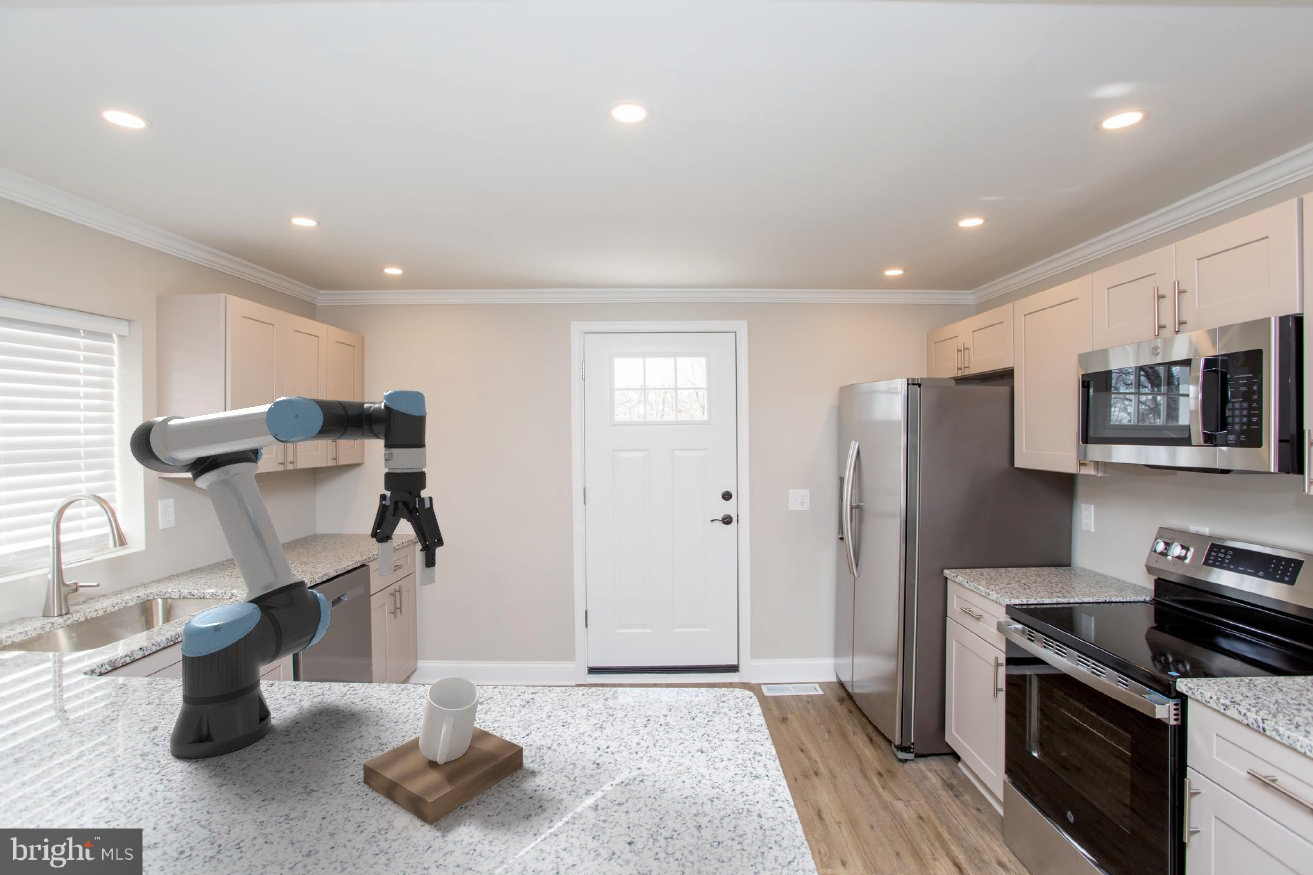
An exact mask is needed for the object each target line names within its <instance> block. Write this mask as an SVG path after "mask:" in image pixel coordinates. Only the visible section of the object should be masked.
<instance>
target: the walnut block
mask: <svg viewBox="0 0 1313 875" xmlns="http://www.w3.org/2000/svg"><path fill="white" fill-rule="evenodd" d="M419 738H420V735H419V736H417V737H415V738H413V739H411V740H409V741H407V742H405V743H402V744H400V745H399V746H396V747H395V748H392V749H389V750H388V751H387V752H383V753H381V754H380V755H378V756H375V757H373V758H372V759H369V760H367V761H365V762H363V765H362V767H363V770H362V771H363V772H362V774H363V778H362V780H363V784H365V785H366V786H368V787H369V788H371V789H372V790H375V791H376V792H377V793H378V794H380V795H382V796H384V797H385V798H386V799H389V800H390V801H391V802H393V803H395V804H397V805H398V806H399V807H401V808H403V809H405V811H407V812H409V813H410V814H412V815H413V816H415V817H417V818H418V819H419V820H421V821H423V822H424V823H426V822H427V823H426V824H428V825H429V824H430V826H431V825H433V824H435V823H436V822H437V821H439V820H441V819H442V818H444V817H446V816H447V815H449V814H450V813H452V812H453V811H455V810H457V809H458V808H460V807H462V806H463V805H465V804H466V803H467V802H469V801H471V800H473V799H475V798H476V797H477V796H479V795H481V794H483V793H484V792H485V791H487V790H488V789H490V788H492V787H494V786H495V785H496V784H498V783H500V782H501V781H503V780H505V779H506V778H508V777H509V776H511V775H512V774H514V773H516V772H517V771H519V770H520V769H523V767H524V747H523V746H521V745H519V744H516V743H514V742H513V741H510V740H507V739H505V738H503V737H500V736H498V735H496V734H494V733H491V732H489V731H486V730H484V729H482V728H480V727H477V726H476V725H474V727H473V732H472V737H471V741H470V745H469V747H468V749H467V751H466V752H465V753H464V754H463V755H462V756H461V757H459V758H457V759H455V760H453V761H449V762H445V763H444V764H438V762H436V761H432V760H430V759H428V758H426V757H425V756H424V755H423V754H422V752H421V750H420V748H419ZM434 822H435V823H434Z"/></svg>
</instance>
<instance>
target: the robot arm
mask: <svg viewBox="0 0 1313 875" xmlns="http://www.w3.org/2000/svg"><path fill="white" fill-rule="evenodd" d="M426 407H427V406H426V397H425V394H424V393H423V392H421V391H420V390H419V391H418V390H406V389H405V390H404V389H401V390H400V389H399V390H397V389H396V390H395V389H394V390H393V389H391V390H386V391H384V392H383V399H382V401H355V400H339V399H322V398H321V399H320V398H309V397H303V396H292V397H291V396H290V397H280V398H277V399H276V400H274V402H273V403H271V404H270V403H269V404H264V405H259V406H254V407H253V406H252V407H247V408H241V409H236V410H231V411H224V412H219V413H218V412H217V413H214V414H213V413H212V414H207V415H206V414H205V415H200V416H181V415H169V416H159V417H154V418H151V419H148V420H146V421H144V422H142V423H141V424H139V425H138V426H137V427H136V428H135V429H134V430H133V432H132V434H131V437H130V442H129V446H130V452H131V454H132V456H133V458H134V459H135V460H136V461H137V462H138V463H139V464H140V465H141V466H143V467H145V468H147V469H149V470H152V471H154V472H158V473H163V474H185V473H186V474H187V473H188V474H190V475H191V477H192V480H193V482H194V485H195V486H196V487H198V488H200V489H203V490H205V491H207V494H208V496H209V499H210V502H211V504H212V506H213V508H214V512H215V514H216V517H217V520H218V522H219V525H220V527H221V530H222V532H223V535H224V537H225V539H226V542H227V545H228V547H229V550H230V553H231V555H232V557H233V558H232V559H233V560H234V563H235V565H236V568H237V571H238V574H239V576H240V579H241V581H242V583H243V586H244V590H245V592H246V596H245V597H244V600H243V601H242V602H237V603H235V602H234V603H231V604H228V605H224V606H223V605H221V606H217V607H214V608H211V609H208V610H206V611H203V612H201V613H199V614H197V615H196V616H195V615H194V616H193V617H192V618H191V619H189V620H188V621H187V623H186V624H185V626H184V627H183V630H182V637H181V638H182V639H181V644H180V652H181V659H182V660H181V672H182V673H181V678H182V680H181V682H182V684H181V687H182V704H181V707H180V711H179V714H178V716H177V719H176V721H175V724H174V727H173V728H172V729H173V730H172V732H171V735H170V738H169V741H170V742H169V746H170V747H169V749H170V750H169V751H170V754H171V755H172V756H174V757H175V758H180V759H188V760H192V759H193V760H195V759H204V758H210V757H216V756H220V755H224V754H228V753H230V752H234V751H236V750H240V749H242V748H245V747H246V746H249V745H251V744H254V743H255V742H257V741H258V740H260V739H261V738H263V737H264V736H266V735H267V734H268V733H269V731H270V730H271V728H272V712H271V710H270V707H269V705H268V702H267V700H266V697H265V696H264V693H263V691H262V688H261V668H262V667H265V666H267V665H270V664H271V663H274V662H278V661H279V660H282V659H284V658H286V657H289V656H290V655H294V654H295V653H297V654H298V653H300V652H303V651H304V650H306V649H307V648H309V647H311V646H313V645H315V644H316V643H318V642H319V641H321V639H322V638H323V637H324V636H325V635H326V632H327V630H328V626H329V625H330V622H331V621H330V620H331V610H330V605H329V602H328V601H327V600H328V599H327V598H326V597H325V595H324V594H323V593H320V592H319V590H316V589H315V590H314V589H309V588H308V585H307V583H306V580H305V579H303V578H301V577H298V576H295V575H294V573H293V571H292V569H291V565H290V563H289V561H288V558H287V556H286V554H285V551H284V549H283V546H282V544H281V542H280V541H281V540H280V539H279V538H280V537H279V536H278V533H277V531H276V529H275V526H274V524H273V521H272V518H271V516H270V513H269V511H268V509H267V506H266V502H265V501H264V498H263V496H262V494H261V490H260V488H259V486H258V483H257V481H256V478H255V475H256V474H257V472H258V471H259V469H260V466H259V462H261V460H262V458H263V454H264V453H263V452H262V450H264V448H269V447H274V446H275V447H276V446H281V445H287V444H296V443H303V442H309V441H310V442H312V441H359V440H363V441H367V440H369V441H370V440H371V441H372V440H380V441H382V440H383V448H384V449H383V450H384V454H383V460H384V464H383V467H384V469H385V470H387V471H385V472H384V474H383V488H384V491H385V493H380V494H379V500H378V503H379V504H378V508H377V510H376V514H375V518H374V522H373V525H372V528H371V532H370V538H371V539H374V540H375V542H376V543H377V551H378V552H377V555H378V556H377V557H378V558H377V559H378V560H377V561H378V563H377V564H378V568H377V570H378V577H384V576H388V575H393V574H394V541H393V540H394V538H393V535H394V533H395V531H396V529H397V527H398V525H399V523H400V522H401V520H402V519H403V520H406V522H407V523H409V524H410V525H411V528H412V530H413V532H414V534H415V536H416V538H417V540H418V542H419V544H420V546H421V547H420V549H419V586H420V587H424V586H428V585H433V584H435V583H436V563H437V561H436V560H437V559H436V557H437V555H436V554H437V553H436V551H437V549H439V548H440V547H444V545H445V542H444V539H443V536H442V535H443V534H442V532H441V529H440V526H439V525H440V524H439V523H438V519H437V515H436V512H435V508H434V501H433V500H434V499H433V497H432V495H431V496H422V491H424V490H426V488H427V472H426V471H425V470H424V469H425V468H427V447H426V445H427V444H426V430H427V429H426V428H427V427H426V426H427V415H428V414H427V410H426V409H427V408H426Z"/></svg>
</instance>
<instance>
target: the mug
mask: <svg viewBox="0 0 1313 875" xmlns="http://www.w3.org/2000/svg"><path fill="white" fill-rule="evenodd" d="M480 696H481V692H480V688H479V686H478V685H477V684H476V683H475V682H473V680H471V679H469V678H465V677H461V676H448V677H447V676H446V677H443V678H440V679H438V680H436V681H435V682H433V683H432V684H431V685H430V686H429V688H428V690H427V693H426V699H425V705H424V709H423V710H424V711H423V715H422V716H423V717H422V722H421V727H420V733H419V736H420V738H419V748H420V750H421V752H422V754H423V755H424V756H425V757H426V758H428V759H430V760H432V761H436V762H438V764H444V763H445V762H449V761H453V760H455V759H457V758H459V757H461V756H462V755H463V754H464V753H465V752H466V751H467V749H468V747H469V745H470V741H471V737H472V732H473V727H474V726H475V721H476V715H477V710H478V707H479V700H480Z"/></svg>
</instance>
